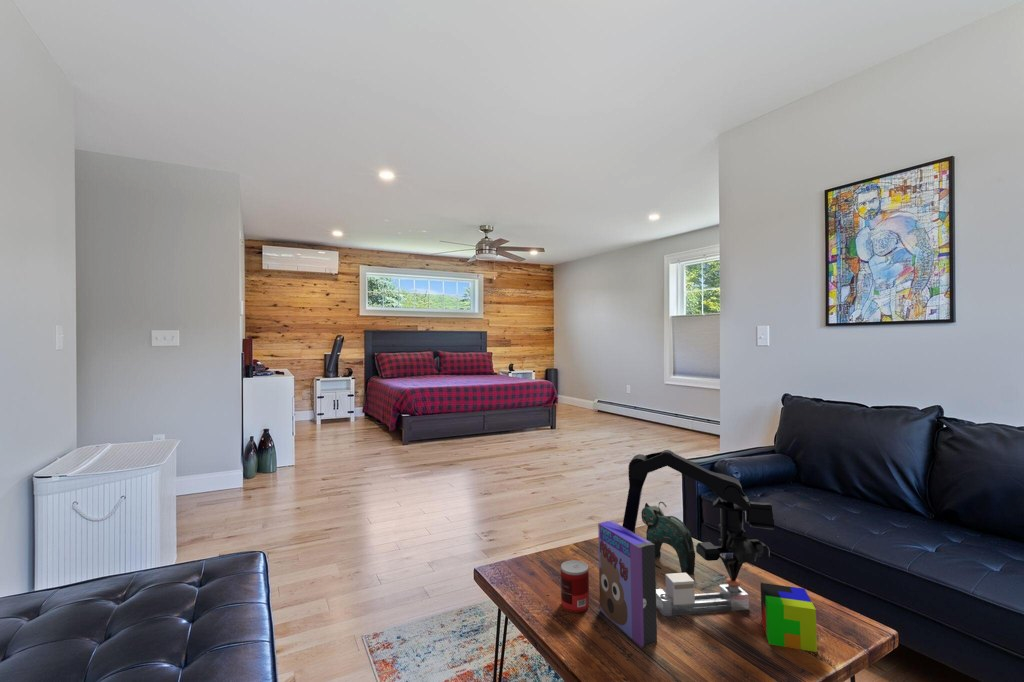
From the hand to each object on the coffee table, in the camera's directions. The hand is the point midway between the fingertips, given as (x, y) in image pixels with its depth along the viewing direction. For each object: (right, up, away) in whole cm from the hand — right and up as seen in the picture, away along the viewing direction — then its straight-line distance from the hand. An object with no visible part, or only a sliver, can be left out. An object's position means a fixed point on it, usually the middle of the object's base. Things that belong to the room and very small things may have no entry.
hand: (733, 580), depth 130 cm
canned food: (-44, -8, 0) cm, 45 cm away
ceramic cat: (-9, -8, +25) cm, 28 cm away
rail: (-10, -7, -1) cm, 12 cm away
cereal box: (-32, -7, -9) cm, 34 cm away
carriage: (-15, -4, -2) cm, 16 cm away
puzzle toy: (+7, -7, -15) cm, 17 cm away
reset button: (0, -5, 0) cm, 5 cm away
